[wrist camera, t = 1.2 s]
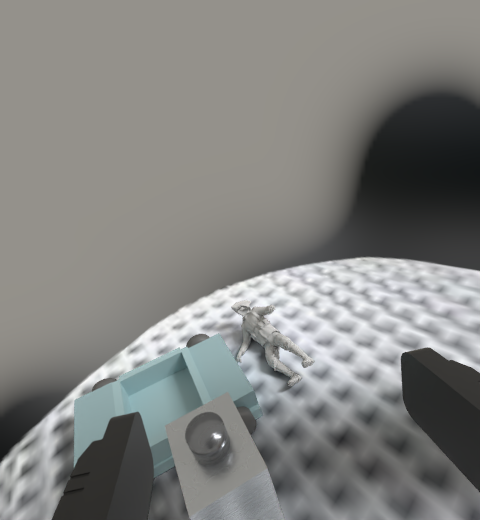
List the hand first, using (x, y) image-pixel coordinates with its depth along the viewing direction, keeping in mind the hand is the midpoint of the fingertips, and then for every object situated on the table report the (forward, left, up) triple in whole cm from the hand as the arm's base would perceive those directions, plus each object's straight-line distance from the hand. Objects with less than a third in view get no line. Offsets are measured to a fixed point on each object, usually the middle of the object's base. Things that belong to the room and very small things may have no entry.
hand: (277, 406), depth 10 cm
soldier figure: (-7, -20, -20) cm, 29 cm away
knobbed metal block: (+3, -7, -20) cm, 21 cm away
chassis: (+6, -18, -20) cm, 27 cm away
